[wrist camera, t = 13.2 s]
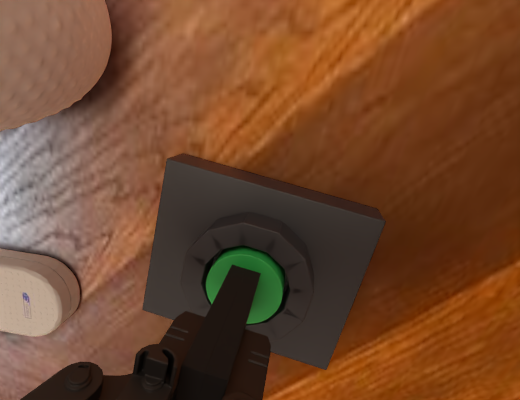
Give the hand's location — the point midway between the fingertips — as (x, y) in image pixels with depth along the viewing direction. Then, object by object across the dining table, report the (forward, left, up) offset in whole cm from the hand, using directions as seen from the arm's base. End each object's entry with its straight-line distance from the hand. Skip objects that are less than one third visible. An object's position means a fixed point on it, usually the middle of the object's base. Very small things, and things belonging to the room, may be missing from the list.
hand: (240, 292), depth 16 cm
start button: (0, 0, -2) cm, 2 cm away
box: (0, 0, -5) cm, 5 cm away
